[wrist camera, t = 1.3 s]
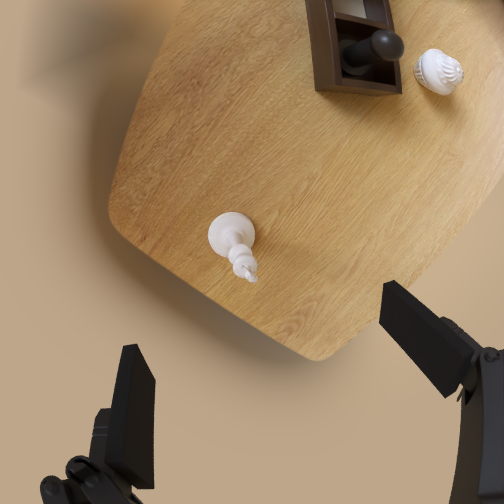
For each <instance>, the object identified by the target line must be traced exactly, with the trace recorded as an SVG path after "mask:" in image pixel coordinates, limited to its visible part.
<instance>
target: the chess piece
mask: <svg viewBox="0 0 504 504" xmlns="http://www.w3.org/2000/svg"><path fill="white" fill-rule="evenodd" d="M208 240H209V243H210V245H211V247H212V248H213V250H214V251H215V252H216V253H217V254H219V255H220V256H223V257H226V258H229V261H230V262H231V263H232V264H233V271H234V273H235V274H236V275H237V276H238V277H240V278H246V279H247V280H248V281H249V282H250V283H251V282H254V283H255V282H256V281H257V280H258V277H257V276H256V275H255V273H256V271H257V268H258V263H257V261H256V259H255V258H254V257H252V250H251V247H252V245H253V243H254V240H255V230H254V226H253V224H252V222H251V221H250V219H249V218H248V217H246V216H245V215H243V214H241V213H238V212H227V213H224V214H222V215H220V216H218V217H217V218H216V219H215V220H214V221H213V222H212V223H211V225H210V227H209V231H208Z"/></svg>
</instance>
